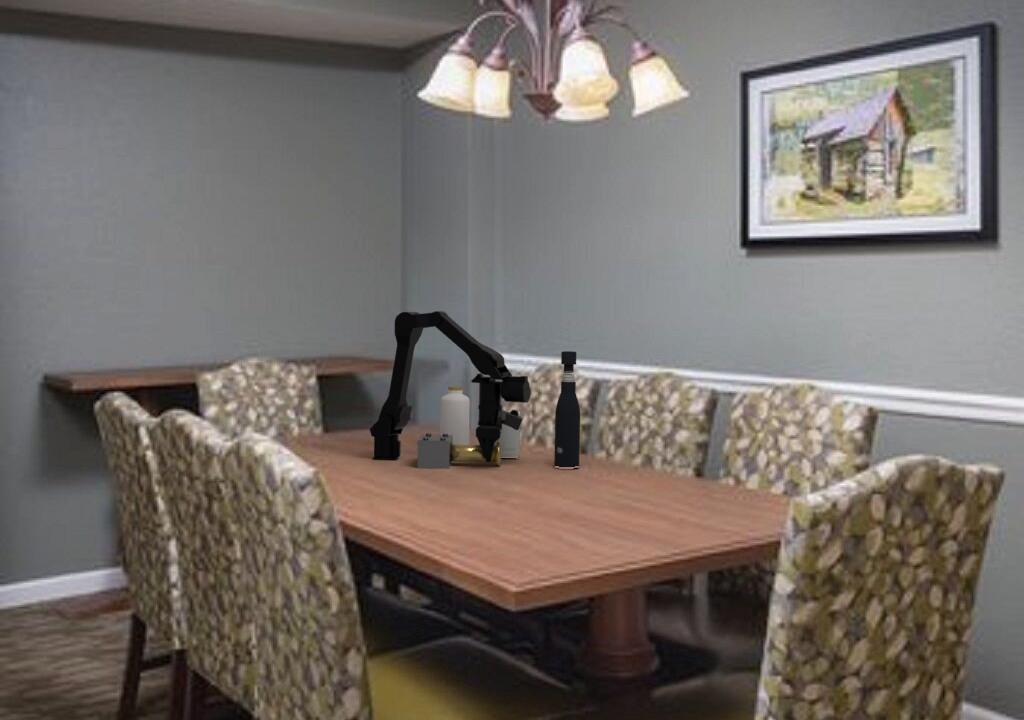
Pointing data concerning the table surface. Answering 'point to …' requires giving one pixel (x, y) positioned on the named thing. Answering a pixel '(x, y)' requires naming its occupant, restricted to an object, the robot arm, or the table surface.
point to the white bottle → (455, 415)
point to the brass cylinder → (473, 453)
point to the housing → (434, 451)
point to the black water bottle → (567, 417)
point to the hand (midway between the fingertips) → (488, 460)
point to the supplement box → (509, 441)
